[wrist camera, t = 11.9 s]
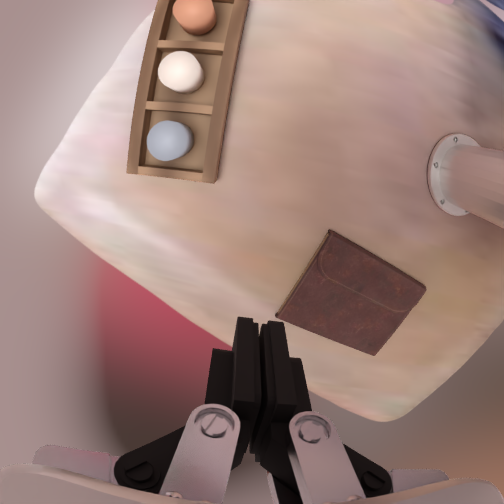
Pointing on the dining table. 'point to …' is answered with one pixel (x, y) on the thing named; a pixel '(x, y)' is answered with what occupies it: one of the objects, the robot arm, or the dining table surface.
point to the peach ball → (195, 15)
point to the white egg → (181, 72)
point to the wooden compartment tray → (187, 105)
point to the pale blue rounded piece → (169, 140)
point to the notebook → (350, 296)
